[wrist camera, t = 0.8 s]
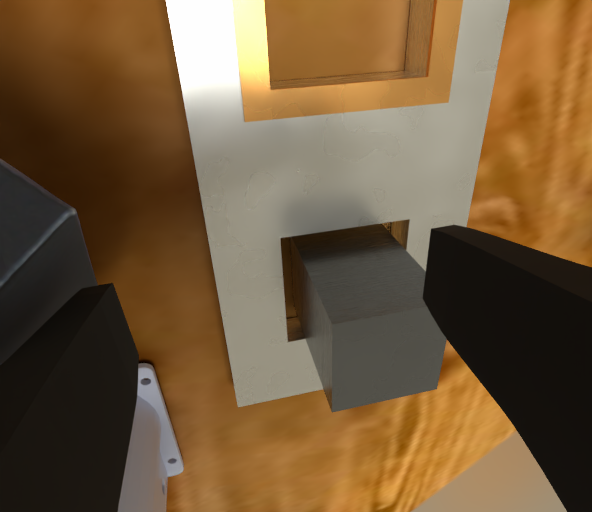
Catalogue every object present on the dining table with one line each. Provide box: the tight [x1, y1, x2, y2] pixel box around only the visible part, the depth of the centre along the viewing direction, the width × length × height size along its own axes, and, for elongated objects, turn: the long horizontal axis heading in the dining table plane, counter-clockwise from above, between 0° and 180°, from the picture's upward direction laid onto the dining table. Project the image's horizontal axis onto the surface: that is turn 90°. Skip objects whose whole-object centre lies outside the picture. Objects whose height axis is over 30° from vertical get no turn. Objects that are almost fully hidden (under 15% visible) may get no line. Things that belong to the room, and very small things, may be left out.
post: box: [290, 223, 447, 412], centre depth 18 cm, size 4×4×7 cm
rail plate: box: [166, 0, 510, 407], centre depth 17 cm, size 26×12×2 cm, turn 3°
